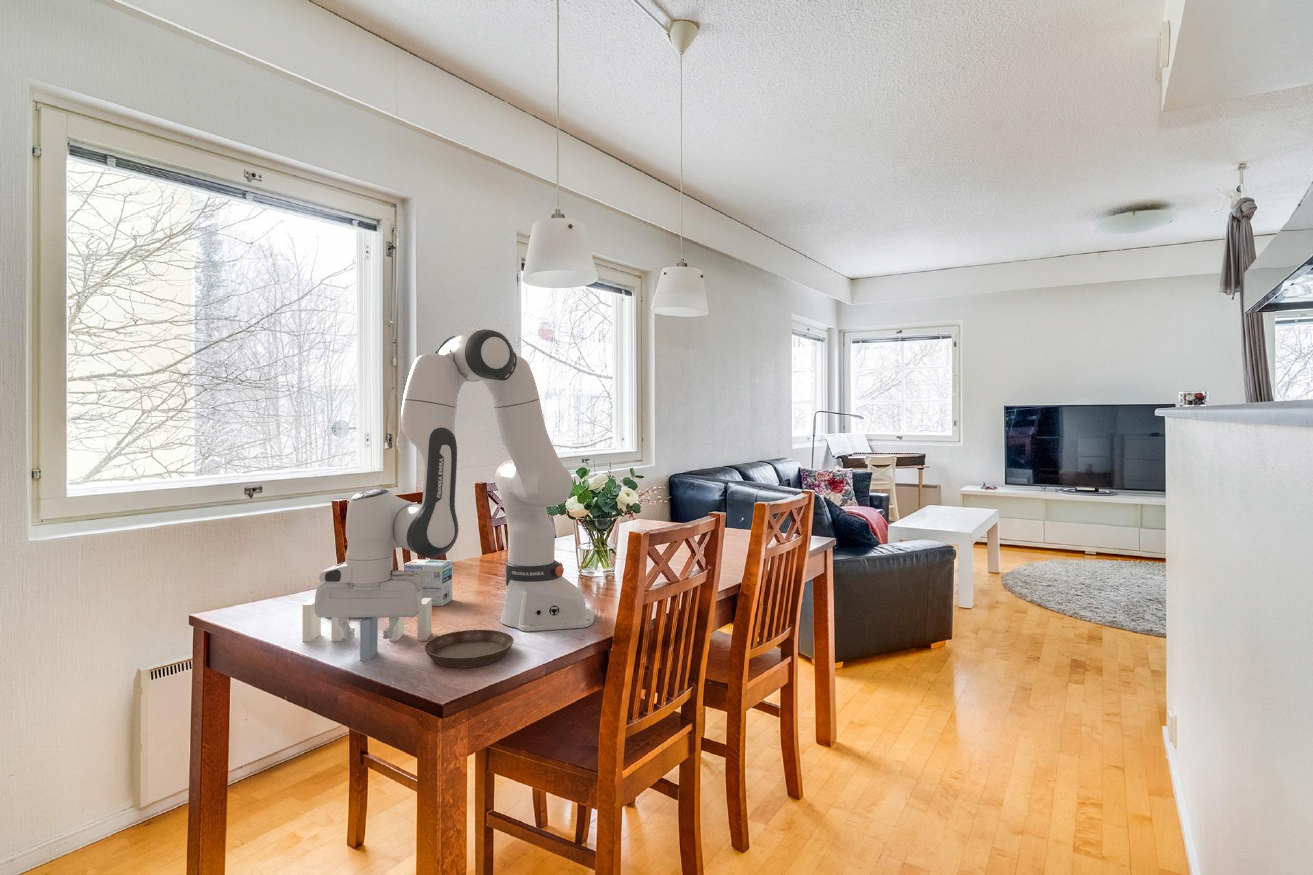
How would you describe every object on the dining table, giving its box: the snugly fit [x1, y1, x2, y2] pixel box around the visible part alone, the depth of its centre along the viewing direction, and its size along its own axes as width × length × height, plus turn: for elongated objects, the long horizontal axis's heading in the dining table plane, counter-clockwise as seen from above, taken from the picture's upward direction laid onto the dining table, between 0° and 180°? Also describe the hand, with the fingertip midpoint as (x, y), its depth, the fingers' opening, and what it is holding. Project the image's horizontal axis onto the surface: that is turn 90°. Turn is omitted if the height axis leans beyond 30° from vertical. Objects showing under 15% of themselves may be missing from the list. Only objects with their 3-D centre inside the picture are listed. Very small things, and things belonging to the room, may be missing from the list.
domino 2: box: [331, 618, 350, 642], centre depth 148 cm, size 2×5×8 cm, turn 5°
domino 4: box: [388, 617, 405, 642], centre depth 149 cm, size 2×5×8 cm, turn 5°
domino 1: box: [302, 597, 322, 643], centre depth 148 cm, size 2×5×8 cm, turn 5°
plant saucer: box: [423, 629, 515, 669], centre depth 139 cm, size 18×18×3 cm
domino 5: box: [416, 598, 433, 642], centre depth 150 cm, size 2×5×8 cm, turn 5°
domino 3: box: [359, 617, 379, 662], centre depth 137 cm, size 2×5×8 cm, turn 5°
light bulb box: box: [403, 558, 453, 607], centre depth 177 cm, size 11×7×11 cm, turn 84°
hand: (368, 638), depth 137 cm, fingers open, 6 cm apart
